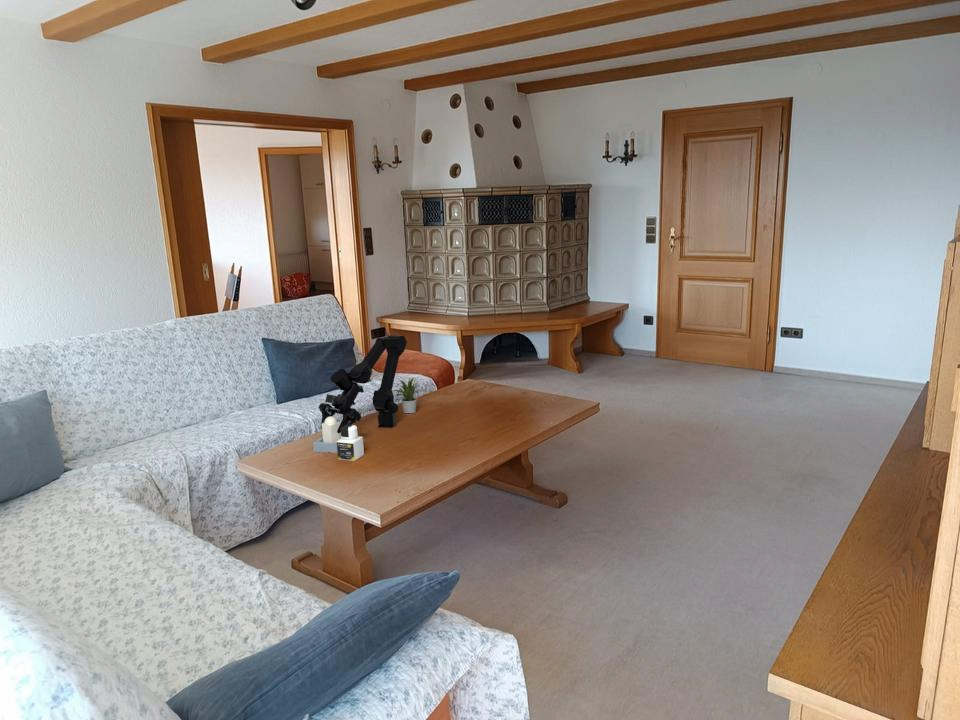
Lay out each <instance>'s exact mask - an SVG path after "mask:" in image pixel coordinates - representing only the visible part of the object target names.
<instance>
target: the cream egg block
mask: <svg viewBox="0 0 960 720" xmlns="http://www.w3.org/2000/svg"><path fill="white" fill-rule="evenodd" d="M340 424H341V421H338V419H337V418H336V417H335V416H330V417H327V418H326V419H325V421H324V423H322V429H321V433H322V436H323V442H331V443H337V441H338V440H340V439H341V432H340V433H337V430H338V428H339V426H340Z"/></svg>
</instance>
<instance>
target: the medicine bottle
mask: <svg viewBox="0 0 960 720" xmlns="http://www.w3.org/2000/svg"><path fill="white" fill-rule="evenodd" d="M340 430H341V439H340V440H338V441H337V453H336V454H337V459H338V460H340V461H342V460H343V461H349V462H355V461H357V460H358V459H359V458H362V457H363V456H364V455H365V448H364V438H363V436H359V434H358V427H357V425H354V424H352V425H345V426H343V427H341V429H340Z"/></svg>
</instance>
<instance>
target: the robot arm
mask: <svg viewBox="0 0 960 720" xmlns="http://www.w3.org/2000/svg"><path fill="white" fill-rule="evenodd" d="M407 343H408V341H407V339H406V337H405V336H404V335H400V334H399V335H398V334H390V335H387V336H384V337H377V338H376V340H375V341H374V343H373V346H372V347H371V348H370V350H369V351H368V352H367V354H366V355H365V356H364V358H363V360H362V361H361V362H359V363H357V364H356V365H354V366H353V368H351V370H350V371H349V372H347V371H346V369H344V368H341V367H340V368H339V370H336V371H335V372H334V373H333V374H332V375H331V376H330V381H331V383H332V384H334V386H336V387H337V388H338V389H339V390H340V391H342V392H341V394H340V393H339V394H337V395H333V394H326V397H325V401H324V402H321V403H320V404H319V406H318V407H317V408H318V409H319V411H320V412H321V423H320V430H322V423H324V421H325V419H326V418H327V417H330V416H332V417H334V416H335V415H336V414H338V415H342V420H341V421H340V426H339V428H338V430H337V433H340V432H341V430H340V429H341V427H343V426H345V425H354V424H356V423H357V422H360V421H361V418H362V414H361V413H360V412H359V411H358V410H357V409H356V408H353V407H352V406H356V402H355V401H356V398H357V397H358V395H359V393H361V394H363V393H364V387H363V385H360V384H367V383H368V382H369V381H370V379H371V376H372V374H373V368H374V367H375V365H376V363H377V362H378V361H379V359H380V358H381V356H382V355H383V353H384V352H385V350H386V353H387V355H386V359H385V364H384V370H383V373H382V378H381V382H380V385H379V388H378V389H377V390H376V389H375V390H374V391H373V396H372V398H371V400H372V402H371V403H372V406H373V408H374V410H375V412H378V415H377V421H378V422H377V423H378V426H377V427H378V428H393V426H394V427H395V426H396V425H397V424H398V421H397V420H396V414H397V412H399V405H398V404H396V403H395V401H394V399H395V395H394V391H393V386H394V384H393V383H394V381H395V379H396V373H397V367H398V364H399V358H400V357H401V355H402V354H403V353H404V352H405V349H406V347H407Z"/></svg>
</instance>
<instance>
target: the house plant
mask: <svg viewBox="0 0 960 720" xmlns="http://www.w3.org/2000/svg"><path fill="white" fill-rule="evenodd" d="M414 378H415V376H413V377H412V378H410V377H409V378H408V381H407V383H406V382H404V380H401V379H399V378H397V380H399V382H400V383H401V385H400V384H399V385H398V387H399V388H398V389H392V392H395V393H397V394H396V395H394V397H395V396H396V397H399V396H401V395H402V398H401V400H400V401H401V405H402V410H403V413H404V414H405V413H414V412H415V413H416V410H417V409H416V408H417V401H418V398H417V397H415V395H416V393H418V392H419V391H422V392H423V390H422V389H421V390H420V389H419V390H417V391H415V390H416V388H417V387H418V385H419V384H418V381H416V380H414ZM394 384H395V385H396V383H394V382H393V385H394ZM415 413H414V414H415Z"/></svg>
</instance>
